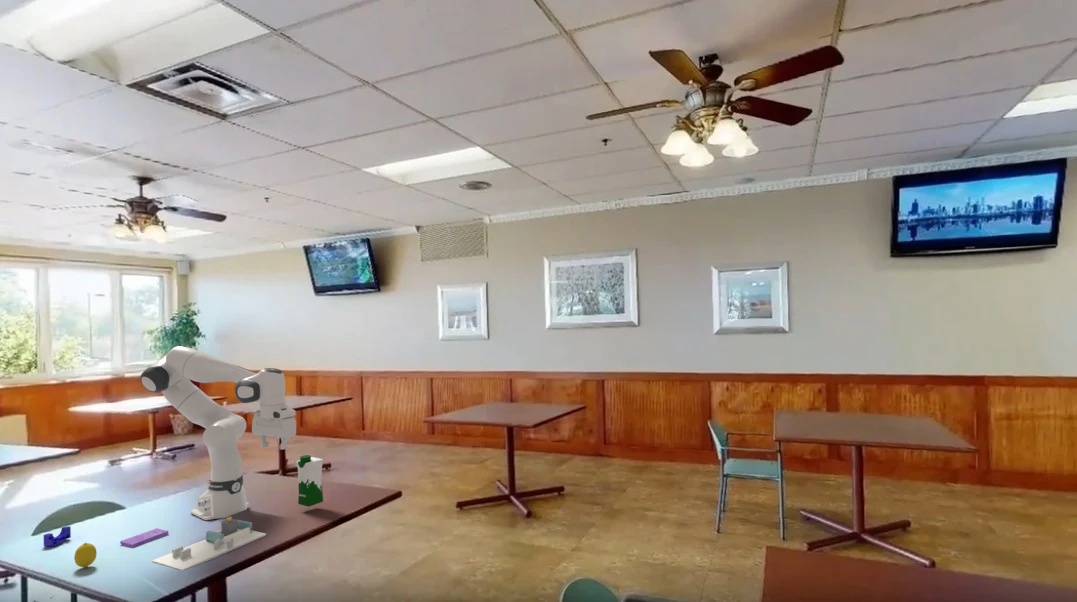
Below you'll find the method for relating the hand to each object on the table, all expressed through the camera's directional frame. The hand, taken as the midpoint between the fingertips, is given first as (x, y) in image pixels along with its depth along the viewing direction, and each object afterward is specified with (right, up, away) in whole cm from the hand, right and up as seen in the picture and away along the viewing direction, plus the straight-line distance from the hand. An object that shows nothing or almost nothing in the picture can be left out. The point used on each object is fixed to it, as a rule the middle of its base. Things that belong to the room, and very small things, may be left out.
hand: (273, 448), depth 213 cm
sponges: (-41, -31, -10) cm, 53 cm away
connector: (-10, -28, -11) cm, 32 cm away
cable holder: (-72, -31, -10) cm, 80 cm away
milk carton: (+4, -29, +24) cm, 38 cm away
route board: (-12, -29, -19) cm, 37 cm away
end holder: (-10, -29, -11) cm, 33 cm away
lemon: (-45, -30, -32) cm, 63 cm away
